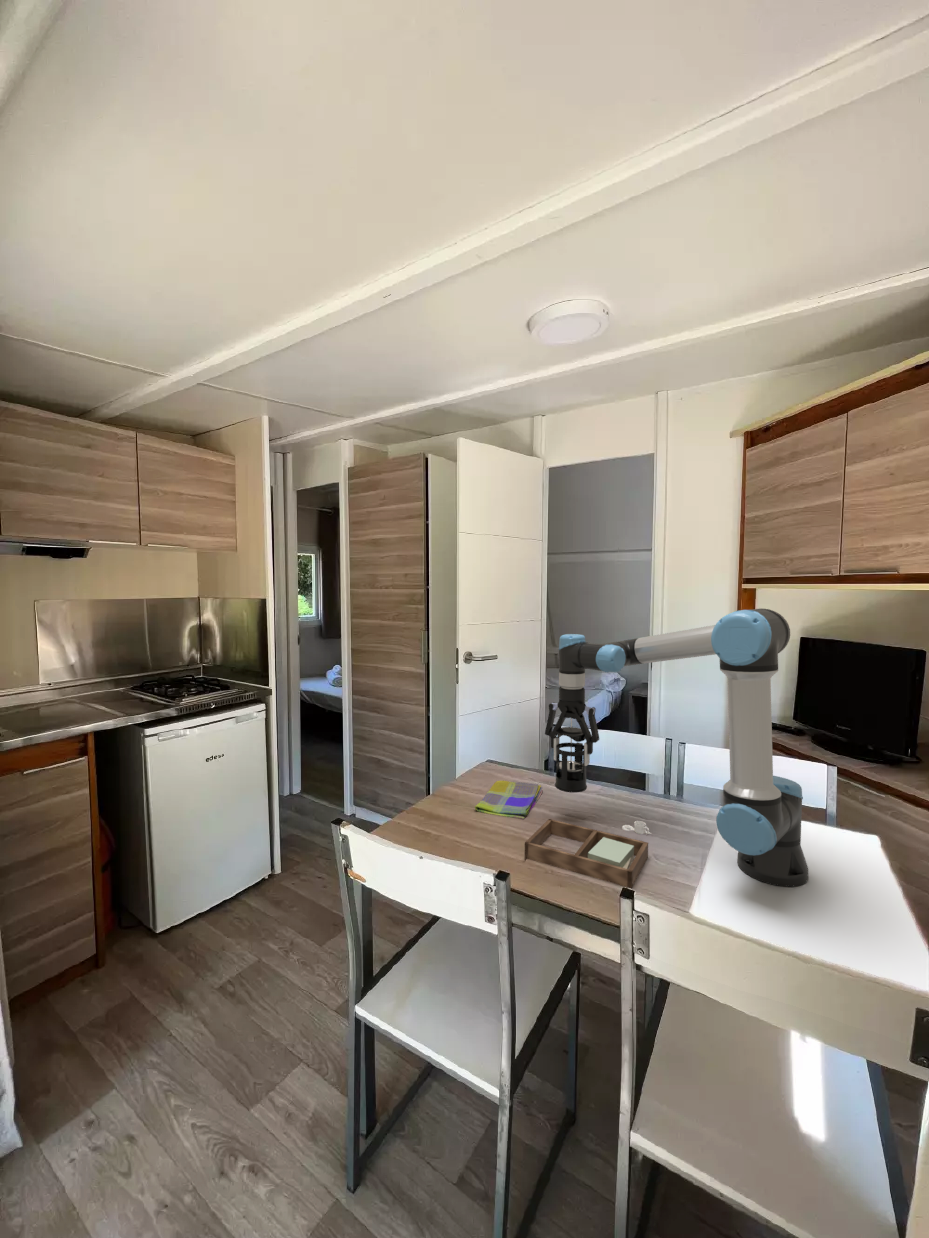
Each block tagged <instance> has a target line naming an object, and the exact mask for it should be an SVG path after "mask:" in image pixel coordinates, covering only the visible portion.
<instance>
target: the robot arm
mask: <svg viewBox="0 0 929 1238" xmlns="http://www.w3.org/2000/svg"><path fill="white" fill-rule="evenodd" d="M790 638H791V628H790V625H789V622H788V621H787V620H786V619H785V617H784V616H783V615H782V614H780V613H778V612H777V611H775V610H772V609H769V608H755V609H742V610H741V609H740V610H736V611H733V612H730V613H728V614H726V615H724V616H722V617H721V618H720V619H719V620H717V622H716V624H713V625H707V626H701V627H695V628H690V629H689V628H688V629H684V630H677V631H671V632H665V633H659V634H654V635H649V636H643V637H636V638H630V639H625V640H619V641H614V642H604V643H594V642H593V643H592V642H587V641H586V636H585V635H584V634H579V633H578V634H577V633H575V634H574V633H566V634H562V635H560V637H559V644H558V662H559V663H558V664H559V669H558V685H559V687H558V702H550V703H549V704H548V709H549V710H548V715H547V721H546V725H545V731H544V735H546V736H549V738H550V747H551V749H553V761H556V759H557V752H556V745H558V744H560V737H559V738H558V733H557V732H556V730H558V729H560V728H562V726H563V724H564V722H565V720H566V719H571V718H572V720H575V721H576V722H577V723H578V725H579V728H581V730H582V732H583V734H585V735H584V737H585V741H586V742H584V743H583V745H584V750H585V755H584V766H586V767H587V766H588V765H589V764H591V763H590V761H591V760H590V759H591V758H590V756H591V755H592V754H593V752H594V743H595V744H596V743H597V742H598V741H600V734H599V730H598V729H599V728H598V726H597V719H596V707H594V706H592V707H590V706H587V704H586V697H585V696H586V689H585V686H586V670H591V671H599V672H603V673H619V672H620V671H622V669H623V668H624V667H628V666H637V665H642V664H643V665H644V664H650V663H660V662H667V661H673V660H674V661H675V660H682V659H683V660H684V659H690V658H697V657H705V656H706V657H707V656H713V655H714V656H715V655H717V657H718V659H719V670H720V671H721V672H722V673H723V674H724V675H725V676H726V678H727V707H728V708H727V709H728V712H727V713H728V737H729V738H728V743H729V744H728V745H729V749H728V750H729V775H730V776H729V777H730V778H729V780H728V781H727V782H725V783H724V784H723V787H722V789H723V790H722V791H723V792H722V793H723V806H722V807H720V808H719V810H718V812H717V814H716V821H715V822H716V823H715V824H716V828H717V831H718V833H719V834H720V837H721V838H722V839H723V840H724V841H725V842H726V843H727V844H728V845H729V847H731V848H733V850H735V851H737V858H736V861H737V862H736V863H737V867H739V869H740V870H741V871H742V872H743V873H745V874H746V875H747V876H748V877H749V876H750V877H751V878H753V879H755V880H757V881H760V882H763V883H765V884H769V885H773V886H778V887H791V888H792V887H799V886H803V885H804V884H807V882H808V880H809V866H808V863H807V860H806V857H805V854H804V851H803V848H802V846H801V842H802V841H801V840H802V839H801V837H802V813H803V811H802V810H803V800H804V797H803V788H802V786H801V785H800V784H799V783H797V782H796V781H794V780H791V779H789V778H786V777H781V776H777V775H774V765H773V764H774V763H773V762H774V761H773V758H774V756H773V730H772V729H773V728H772V727H773V724H772V723H773V722H772V719H773V718H772V717H773V716H772V688H771V687H772V685H771V681H772V677H773V676H774V675H775V674H776V673H778V671H779V654H780V653H781V652H782V651H784V650H785V648H786V647H787V645H788V644H789V642H790ZM558 709H559V711H560V715H559V716H558V719H557V721H556V724H555V723H554V721H555V718H556V714H557V710H558ZM567 711H572V712H573V713H575V714H568V713H565V712H567ZM585 711H586V714H587V717H588V724H589V726H588V725H587V722H586V720H585V716H584V713H585ZM554 724H555V726H554ZM553 727H554V728H553ZM589 727H590V728H589Z"/></svg>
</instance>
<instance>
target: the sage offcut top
mask: <svg viewBox="0 0 929 1238" xmlns="http://www.w3.org/2000/svg"><path fill="white" fill-rule="evenodd" d="M633 854H634V846H633V845H629V844H626V843H622V842H619V841H615V840H612V839H608V838H605V837H603V838H602V839H601V840H600V841H599V842H598V843H597V844H596V845H595V846H594V847H593V848H592V849H591V850H590V851H589V852H588V858H589V859H592V860H596V861H600V862H603V863H607V864H611V865H614V866H618V867H622V868H623V866H624V865H625V864H626V863H627V861H628V860H629V859H630V858H631V857H632V855H633Z"/></svg>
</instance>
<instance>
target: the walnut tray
mask: <svg viewBox="0 0 929 1238" xmlns="http://www.w3.org/2000/svg"><path fill="white" fill-rule="evenodd" d="M551 835H553V836H556V837H561V838H565V839H569V840H571V841H572V840H573V841H575V842H576V841H577V842H580V843H582V844H581V845H580V847H579V849H577V851H576V852H575V853H574V854H573V853H570V852H565V851H562V850H559V849H555V848H551V847H548V846H544V845H543V844H544V843H545V841H547V840H548V838H550V836H551ZM603 837H605V838H608V839H612V840H615V841H619V842H622V843H626V844H629V845H633V846H634V856H635V857H634V858H633V861H632V864H631V866H630V867H629V869H626V868H622V867H618V866H614V865H611V864H607V863H603V862H600V861H596V860H592V859H589V858H588V852H589V851H590V850H591V849H592V848H593V847H594V846H595V845H596V844H597V843H598V842H599V841H600V840H601V839H602V838H603ZM648 858H649V842H647V841H642V840H640V839H639V840H638V839H636V838H635V839H634V838H630V837H626V836H622V835H618V834H613V833H609V832H606V831H601V830H598V829H593V828H588V827H584V826H581V825H577V824H572V823H567V822H564V821H559V820H557V819H556V820H555V819H552V818H548V819H547V820H546V821H545V822H544V823H543V824H542V825H541V826H540V827H539V828H538V829H537V830H536V831H535V832H534V833H533V834H532V835H530V837H529V838H528V839H527V840H526V841H525V842H524V862H526V861H527V859H529V860H531V861H536V862H539V863H543V864H545V865H550V866H553V867H557V868H560V869H563V870H567V871H571V872H574V873H577V874H581V875H584V876H588V877H591V878H594V879H599V880H601V881H605V882H609V883H612V884H615V885H618V886H619V885H620V886H622V887H625V888H628V887H629V889H633V887H634V885H635V883H636V882H637V879H638V877H639V875H640V873H641V871H642V869H643V868H644V866H645V864H646V862H647V860H648Z"/></svg>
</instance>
